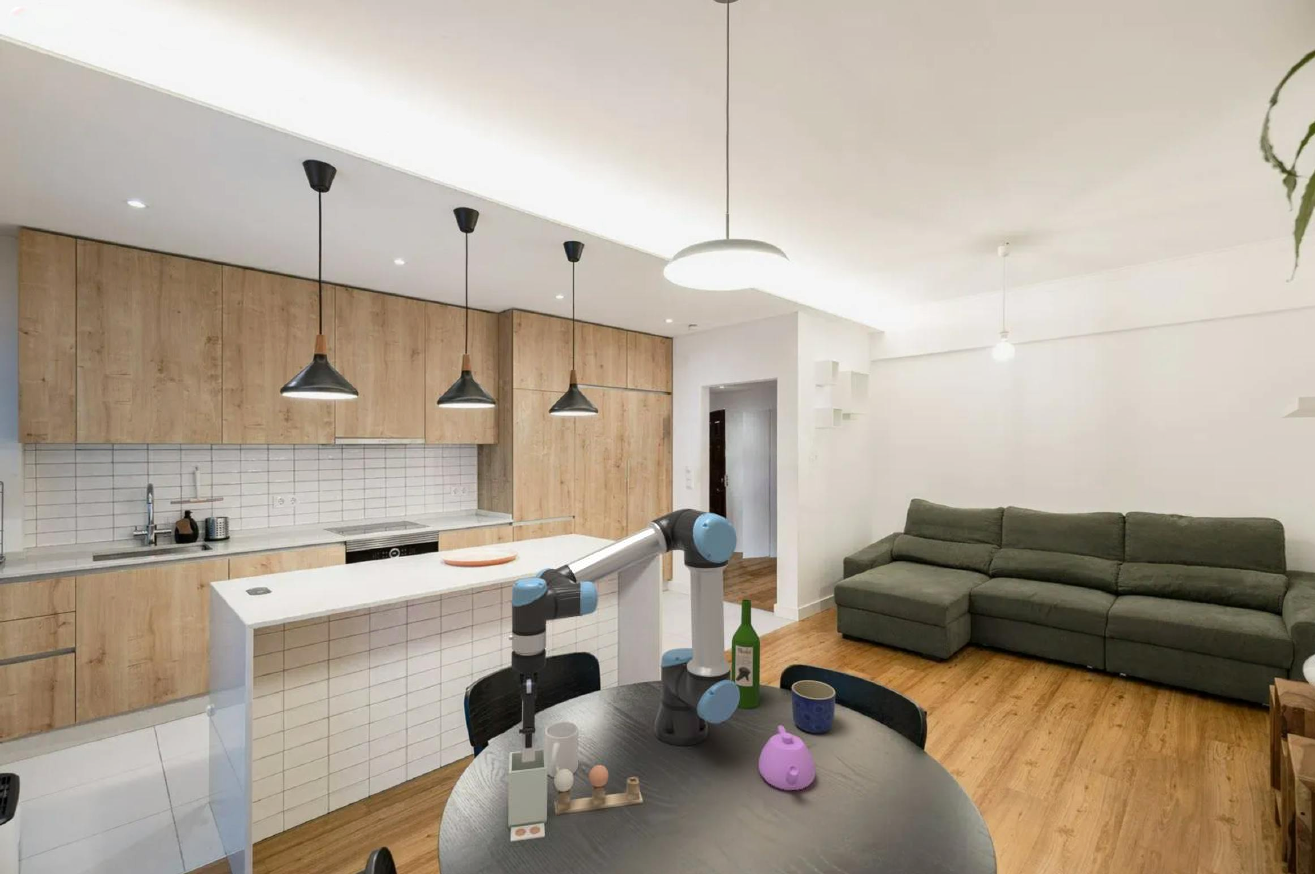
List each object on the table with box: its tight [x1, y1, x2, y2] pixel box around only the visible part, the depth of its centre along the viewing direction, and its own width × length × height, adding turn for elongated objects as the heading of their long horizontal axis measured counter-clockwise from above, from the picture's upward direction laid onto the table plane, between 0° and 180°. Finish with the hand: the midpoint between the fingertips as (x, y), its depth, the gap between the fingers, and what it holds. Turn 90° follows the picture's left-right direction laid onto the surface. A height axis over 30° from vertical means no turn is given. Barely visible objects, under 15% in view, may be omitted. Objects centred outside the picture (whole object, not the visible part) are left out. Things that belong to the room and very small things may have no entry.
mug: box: [544, 720, 579, 778], centre depth 145 cm, size 12×8×10 cm
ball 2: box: [588, 764, 609, 787], centre depth 134 cm, size 4×4×4 cm
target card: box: [510, 823, 546, 842], centre depth 124 cm, size 7×4×1 cm, turn 103°
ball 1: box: [553, 769, 574, 791], centre depth 132 cm, size 4×4×4 cm
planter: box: [791, 679, 836, 734], centre depth 170 cm, size 12×12×11 cm
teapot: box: [758, 725, 816, 791], centre depth 145 cm, size 14×20×11 cm
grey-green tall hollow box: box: [507, 748, 548, 829], centre depth 130 cm, size 8×8×12 cm
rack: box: [553, 776, 644, 816], centre depth 134 cm, size 20×4×4 cm, turn 103°
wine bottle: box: [730, 598, 761, 710], centre depth 185 cm, size 9×9×32 cm
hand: (528, 743), depth 130 cm, fingers open, 13 cm apart
